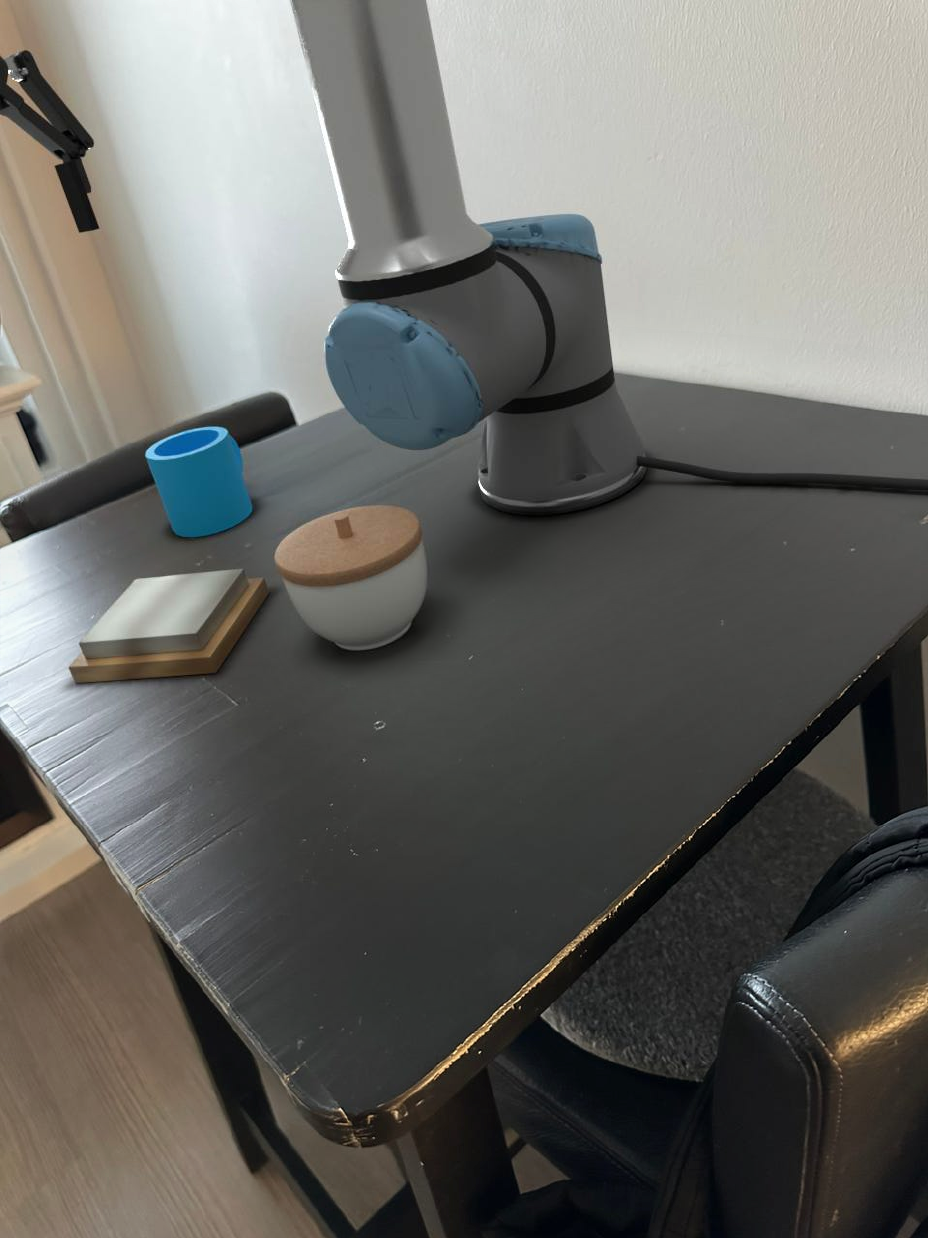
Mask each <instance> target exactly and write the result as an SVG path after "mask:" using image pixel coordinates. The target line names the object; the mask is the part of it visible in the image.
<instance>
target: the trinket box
mask: <svg viewBox="0 0 928 1238" xmlns="http://www.w3.org/2000/svg"><path fill="white" fill-rule="evenodd" d="M425 551H426V550H425V545H424V541H423V530H422V525H421V521H420V519H419V517H418V516H417V515H416V514H415V513H413V512H412V511H411V510H408V509H407V508H404V507H401V506H396V505H386V504H379V505H378V504H376V505H375V504H373V505H372V504H371V505H362V506H356V507H351V508H345V509H342V510H338V511H335V512H331V513H328V514H325V515H322V516H319V517H317V518H316V519H313V520H311V521H308V522H307V523H304V524H302V525H300V526H299V527H298V528H296V529H294V530H293V531H292V532H291V533H289V534H288V535H286V536H285V537H284V538H283V539H282V540H281V541H280V543H279V545H278V546H277V547H276V550H275V552H274V558H273V559H274V563H275V567H276V569H277V572H278V574H279V575H280V576H281V579H282V582H283V585H284V588H285V590H286V593H287V596H288V598H289V601H290V603H291V604H292V606H293V608H294V610H295V611H296V613H297V614H298V616H299V617H300V619H301V620H302V622H304V624H305V625H306V626H307V627H308V628H309V629H310V630H312V631H313V632H314V633H315V634H316V635H318V636H319V637H321V638H323V639H325V640H328V641H329V642H332V643H334V644H335V645H336V646H338V647H339V648H341V649H344V650H347V651H368V650H373V649H378V648H380V647H384V646H386V645H388V644H390V643H393V642H394V641H396V640H399V638H401V637H402V636H404V635H405V634H406V633H407V632H408V630H409V629H410V628H411V626H412V622H413V620H414V618H415V617H416V615H417V614H418V612H419V611H420V609H421V607H422V605H423V603H424V600H425V597H426V591H427V587H428V564H427V562H428V561H427V556H426V552H425Z"/></svg>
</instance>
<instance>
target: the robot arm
mask: <svg viewBox="0 0 928 1238" xmlns="http://www.w3.org/2000/svg"><path fill="white" fill-rule="evenodd" d="M289 2H290V6H291V11H292V15H293V18H294V23H295V27H296V31H297V35H298V39H299V43H300V46H301V51H302V56H303V58H304V63H305V67H306V71H307V75H308V80H309V83H310V87H311V92H312V96H313V99H314V104H315V107H316V112H317V115H318V119H319V123H320V127H321V131H322V136H323V139H324V144H325V148H326V151H327V152H326V153H327V156H328V160H329V164H330V168H331V173H332V176H333V180H334V184H335V188H336V192H337V196H338V202H339V205H340V208H341V213H342V216H343V222H344V224H345V229H346V233H347V237H348V246H347V248H346V251H345V252H344V254H343V256H342V258H341V259H340V261H339V262H338V265H337V266H336V269H335V276H336V280H337V284H338V287H339V292H340V296H341V300H342V304H343V307H344V308H343V309H342V310H341V311H340V312H339V313H338V314H337V315H336V316H335V317H334V319H333V321H332V322H331V323H330V325H329V326H328V331H327V332H328V335H327V336H326V337H325V339H324V343H323V354H324V355H323V356H324V364H325V369H326V372H327V375H328V377H329V381H330V383H331V385H332V388H333V389H334V393H335V394H336V395H337V398H338V399H339V400H340V402H341V403H342V405H343V406H344V409H346V410H347V412H348V413H349V414H350V416H351V417H352V418H353V419H354V420H355V421H356V422H357V423H358V424H359V425H362V426H364V427H365V428H366V429H367V430H368V431H369V433H370V434H371V435H373V436H374V437H376V438H377V439H379V440H380V441H383V442H384V443H386V444H388V445H392V446H394V447H397V448H400V449H404V450H405V449H406V450H409V451H410V450H411V451H425V450H426V451H427V450H431V449H435V448H437V447H439V446H442V445H443V444H445V443H447V442H448V441H450V440H452V439H454V438H458V437H461V436H464V435H466V434H468V433H470V432H471V431H472V430H473V429H475V427H477V425H478V424H479V423H480V422H481V421H483V428H482V437H481V443H480V444H481V445H480V452H479V461H478V462H479V463H478V469H477V475H478V485H479V490H480V495H481V498H482V500H483V501H484V502H485V504H487V505H489V506H490V507H492V508H494V509H496V510H498V511H502V512H506V513H510V514H517V515H526V516H527V515H529V516H538V515H539V516H544V515H557V514H564V513H571V512H575V511H580V510H584V509H588V508H591V507H592V508H593V507H595V506H597V505H601V504H603V503H606V502H609V501H611V500H613V499H616V498H618V497H620V496H622V495H624V494H625V493H627V492H628V491H629V490H631V489H632V488H634V487H635V486H636V485H638V484H639V483H640V482H641V480H642V479H643V478H644V477H645V474H646V471H647V468H648V469H655V470H660V471H668V472H671V473H679V474H682V475H683V474H684V475H688V476H693V477H698V478H701V479H708V480H712V481H720V482H728V483H736V484H737V483H741V484H761V485H764V484H765V485H768V484H769V485H770V484H771V485H777V484H783V485H784V484H787V485H788V484H791V485H792V484H793V485H794V484H795V485H797V484H799V485H800V484H801V485H803V484H805V485H830V486H848V487H862V488H863V487H864V488H878V489H891V490H904V491H905V490H906V491H924V492H928V478H927V479H925V478H924V479H923V478H904V477H891V476H890V477H888V476H872V475H857V474H839V473H817V472H815V473H813V472H811V473H810V472H778V473H777V472H776V473H775V472H774V473H773V472H771V473H770V472H769V473H768V472H756V473H755V472H739V471H729V470H719V469H715V468H714V469H713V468H708V467H703V466H699V465H695V464H690V463H684V462H678V461H673V460H666V459H660V458H655V457H649V456H646V453H645V449H644V444H643V442H642V441H643V440H642V439H641V436H640V435H639V434H638V432H637V429H636V427H635V425H634V423H633V420H632V418H631V416H630V414H629V411H628V410H627V408H626V406H625V404H624V401H623V400H622V397H621V395H620V393H619V391H618V388H617V386H616V378H615V371H614V363H613V354H612V347H611V345H612V344H611V338H610V337H611V336H610V329H609V321H608V313H607V304H606V303H607V302H606V295H605V288H604V278H603V270H602V265H603V257H602V255H601V254H600V252H599V247H598V241H597V236H596V230H595V226H594V224H593V223H592V222H591V220H589V218H587V217H586V216H584V215H582V214H577V213H560V214H558V213H557V214H547V215H546V214H545V215H535V216H527V217H517V218H511V219H504V220H497V221H496V220H495V221H490V222H483V223H476V222H475V221H473V219H472V218H471V217H470V215H468V212H467V206H466V202H465V196H464V191H463V187H462V181H461V176H460V171H459V166H458V160H457V159H458V158H457V155H456V150H455V144H454V139H453V134H452V129H451V123H450V118H449V112H448V108H447V101H446V98H445V92H444V85H443V81H442V77H441V70H440V66H439V61H438V56H437V50H436V46H435V45H436V44H435V39H434V34H433V29H432V24H431V19H430V18H431V17H430V13H429V8H428V3H427V0H289ZM9 75H10V78H11V79H12V80H14V81H16V82H17V83H18V84H19V86H20V88H21V90H23V91H24V92H25V93H24V94H26V95H27V96H28V98H29V99H30V100H31V101H32V103H34V105H35V106H36V107H37V109H39V111H40V112H41V113H42V115H43V116H44V117H45V118H44V117H43V116H42V115H41V114H39V112H37V111H36V110H35V109H33V108H32V107H31V106H30V105H29V104H27V103H26V102H25V98H24V97H23V96H22V95H21V94H19V93H18V92H17V91H16V90H15V89H13V88H12V87H11V86H10V85H9V84H8V80H9ZM0 115H1V116H3V117H6V118H7V119H9V120H10V121H11V122H12V123H14V124H15V126H17V127H19V128H20V129H21V130H22V131H24V132H25V133H26V134H27V135H28V136H30V137H31V138H32V139H34V141H36V142H37V143H38V144H39V145H41V146H42V147H43V148H44V149H46V151H48V152H49V153H51V154H52V155H54V156H55V157H56V158H57V159H58V160H59V161H60V162H62V163H59V164H55V165H54V169H55V172H56V174H57V177H58V180H59V182H60V185H61V188H62V190H63V193H64V195H65V199H66V201H67V204H68V206H69V209H70V213H71V214H72V215H71V216H72V217H73V220H74V224H75V225H76V228H77V231H78V233H80V234H81V233H86V232H87V233H88V232H92V231H93V232H94V231H97V230H99V229H100V226H99V223H98V220H97V217H96V215H95V212H94V208H93V206H92V204H91V201H90V198H89V195H88V194H91V193H92V185H91V183H90V180H89V177H88V174H87V171H86V169H85V166H84V162H83V158H85V156H86V155H87V151H88V150H90V149H92V148H94V146H95V140H94V139H93V137H92V136H91V135H90V133H89V132H88V130H86V128H85V127H84V126H83V124H82V123H81V121H79V120H78V118H77V117H76V116H75V115H74V114H73V112H72V111H71V110H70V109H69V107H68V106H67V105H66V103H65V102H64V101H63V100H62V99H61V97H60V96H59V95H58V93H57V92H56V91H55V90H54V89H53V87H52V86H51V85H50V83H49V82H48V81H47V79H45V77H44V76H43V75H42V73H41V71H40V69H39V66H38V64H37V62H36V60H35V58H34V56H33V54H32V53H31V51H29V50H27V49H24V50H21V51H19V52H16V53H14V54H11V55H10V56H9V57H5V58H3V57H2V56H1V55H0Z"/></svg>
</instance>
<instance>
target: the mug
mask: <svg viewBox="0 0 928 1238" xmlns="http://www.w3.org/2000/svg"><path fill="white" fill-rule="evenodd" d="M144 456H145V459H146V461H147V464H148V467H149V471H150V472H151V475H152V478H153V479H154V480H153V481H154V483H155V486H156V489H157V490H158V491H157V492H158V493H159V496H160V499H161V501H162V504H163V507H164V509H165V512H166V515H167V517H168V521H169V523H170V526H171V528H172V531H173V532H174V533H175V535H176V536H179V537H183V538H199V537H206V536H209V535H214V534H217V533H220V532H223V531H226V530H228V529H230V528H233V527H235V526H237V525H238V524H240V523H242V522H243V521H245V519H247V518H248V517H249V516H250V515H251V513H252V512H253V504H252V500H251V497H250V494H249V492H248V489H247V486H246V482H245V479H244V476H243V472H244V471H243V457H242V452H241V450H240V447H239V445H238V443H237V441H236V440H235V439H234V438H233V437H232V435H230V434H229V430H227V428H225V427H222V426H203V427H198V428H192V429H188V430H184V431H181V432H178V433H174V434H172V435H170V436H168V437H165V438H163V439H161V440H159V441H157V442H155V443H154V444H152V445H150V447H148V448H147V449H146V450H145V453H144Z"/></svg>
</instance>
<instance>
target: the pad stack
mask: <svg viewBox="0 0 928 1238" xmlns="http://www.w3.org/2000/svg"><path fill="white" fill-rule="evenodd" d="M269 594H270V590H269V587H268V585H267V581H266V579H265V577H253V578H248V576H247V574H246V571H245V568H235V569H234V568H233V569H224V570H214V571H204V572H195V573H194V572H193V573H184V574H183V573H182V574H174V575H165V576H154V577H145V578H143V577H142V578H136V579H134V580H133V582H132V583H131V584H130V585H129V586H128V587H127V588H126V590H125V591H124V592H123V593H122V594H121V595H120V596H119V597H118V598H117V600H115V602H113V604H112V605H111V606H110V607H109V608H108V610H107V611H106V612H105V613H104V614H103V615H102V616H101V617H100V618H99V620H98V621H96V623H95V624H94V625H93V626H92V627H91V628H90V630H89V631H87V632H86V634H85V635H84V636H83V637H82V638H81V640H80V641H78V646H79V647H80V650H81V652H80V654H79V655H77V657H76V658H74V660H73V661H72V662H71V664H70V665H69V666H68V670H69V672H70V675H71V676H72V679H73V681H74V684H84V683H96V682H97V683H99V682H110V681H111V682H112V681H124V680H125V681H127V680H137V679H138V680H139V679H150V678H152V679H153V678H165V677H166V678H167V677H168V678H169V677H178V676H179V677H182V676H194V675H207V674H216V673H217V672H218V671H219V670H220V668H221V666H222V665H223V664H224V662H225V660H226V659H227V657H228V656H229V655H230V653H231V651H232V650H233V648H235V647H234V646H235V645H236V643H237V642H238V641H239V639H240V637H241V636H242V634H243V633H244V632H245V630H246V629H247V627H248V625H249V624H250V622H251V621H252V619H254V617H255V615H256V613H257V611H259V609H260V608H261V606H262V605H263V603H264V601H265V600H266V599H267V597H268V595H269Z"/></svg>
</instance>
